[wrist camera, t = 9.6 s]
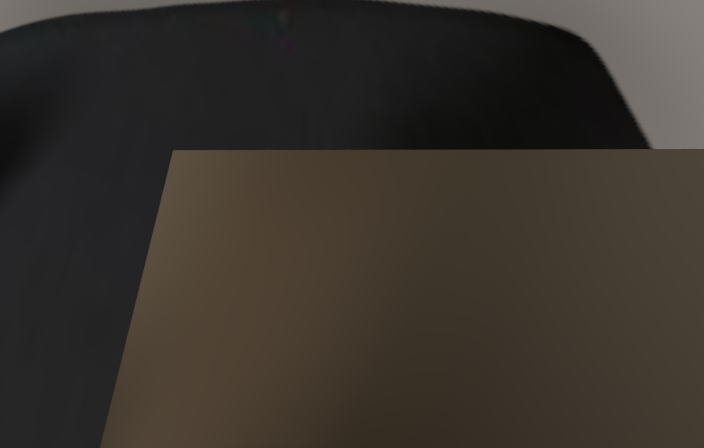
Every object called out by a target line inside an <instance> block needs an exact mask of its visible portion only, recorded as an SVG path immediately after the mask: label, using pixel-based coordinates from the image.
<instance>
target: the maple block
mask: <svg viewBox="0 0 704 448" xmlns="http://www.w3.org/2000/svg"><path fill="white" fill-rule="evenodd" d="M100 448H704V149H578V150H173V154H172V158H171V162H170V166H169V170H168V174H167V178H166V182H165V186H164V190H163V195H162V199H161V203H160V207H159V211H158V215H157V219H156V223H155V227H154V231H153V235H152V239H151V243H150V247H149V251H148V255H147V259H146V263H145V268H144V272H143V276H142V280H141V284H140V288H139V292H138V296H137V300H136V304H135V308H134V312H133V316H132V320H131V324H130V328H129V332H128V337H127V341H126V345H125V349H124V353H123V357H122V361H121V365H120V369H119V373H118V377H117V381H116V385H115V389H114V393H113V397H112V401H111V405H110V410H109V414H108V418H107V422H106V426H105V430H104V434H103V438H102V442H101V446H100Z"/></svg>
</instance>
